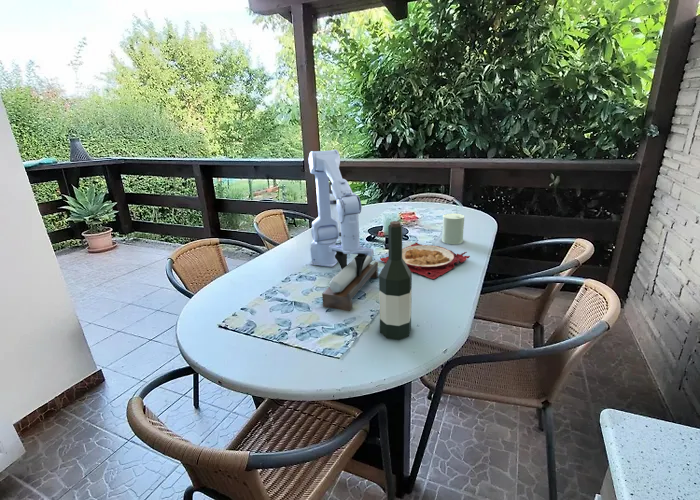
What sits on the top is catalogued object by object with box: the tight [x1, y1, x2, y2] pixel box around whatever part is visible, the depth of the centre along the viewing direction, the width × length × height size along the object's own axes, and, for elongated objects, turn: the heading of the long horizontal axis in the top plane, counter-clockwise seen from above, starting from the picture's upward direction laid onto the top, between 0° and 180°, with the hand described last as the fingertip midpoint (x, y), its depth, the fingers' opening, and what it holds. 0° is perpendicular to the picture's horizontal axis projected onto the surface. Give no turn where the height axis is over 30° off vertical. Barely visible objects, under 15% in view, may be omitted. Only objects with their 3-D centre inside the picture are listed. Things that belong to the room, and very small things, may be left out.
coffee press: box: [329, 179, 342, 244], centre depth 162 cm, size 17×16×30 cm
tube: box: [328, 255, 373, 293], centre depth 119 cm, size 5×5×25 cm
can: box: [441, 212, 466, 245], centre depth 161 cm, size 9×9×12 cm
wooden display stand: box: [321, 261, 379, 312], centre depth 120 cm, size 9×26×6 cm, turn 157°
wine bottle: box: [378, 220, 413, 341], centre depth 92 cm, size 8×8×30 cm
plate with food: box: [379, 242, 471, 280], centre depth 142 cm, size 24×26×4 cm
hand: (352, 274), depth 119 cm, fingers closed on tube, 4 cm apart
